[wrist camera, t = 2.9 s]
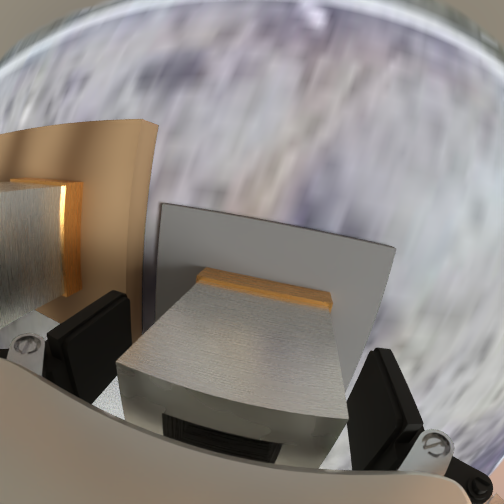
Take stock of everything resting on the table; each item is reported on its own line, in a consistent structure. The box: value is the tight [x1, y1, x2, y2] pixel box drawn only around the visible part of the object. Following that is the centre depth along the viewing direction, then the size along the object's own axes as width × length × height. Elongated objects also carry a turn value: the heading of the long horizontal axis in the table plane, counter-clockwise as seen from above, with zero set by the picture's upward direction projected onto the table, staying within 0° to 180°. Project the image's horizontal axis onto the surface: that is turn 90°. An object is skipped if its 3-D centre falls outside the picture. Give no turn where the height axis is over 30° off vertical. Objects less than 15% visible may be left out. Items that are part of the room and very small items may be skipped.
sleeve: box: [116, 267, 349, 469], centre depth 9 cm, size 5×5×7 cm
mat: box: [155, 203, 396, 392], centre depth 12 cm, size 10×10×1 cm
